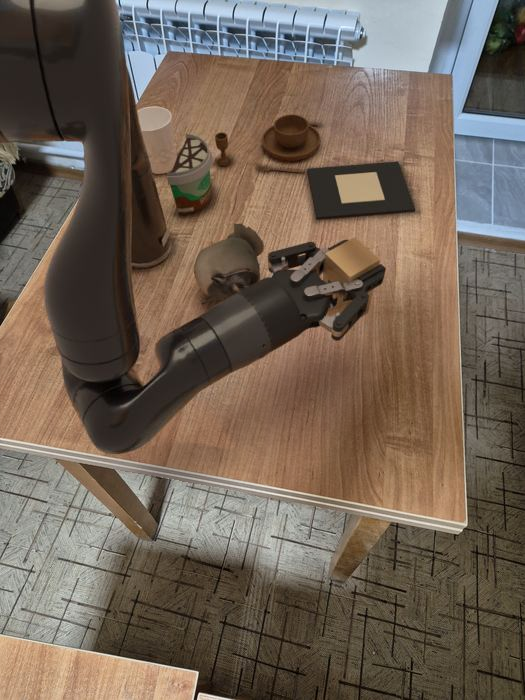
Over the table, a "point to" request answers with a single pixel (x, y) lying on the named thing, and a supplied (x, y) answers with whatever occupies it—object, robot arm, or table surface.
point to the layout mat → (359, 190)
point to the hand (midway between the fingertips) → (367, 258)
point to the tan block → (348, 266)
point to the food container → (191, 176)
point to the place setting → (281, 141)
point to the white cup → (158, 138)
